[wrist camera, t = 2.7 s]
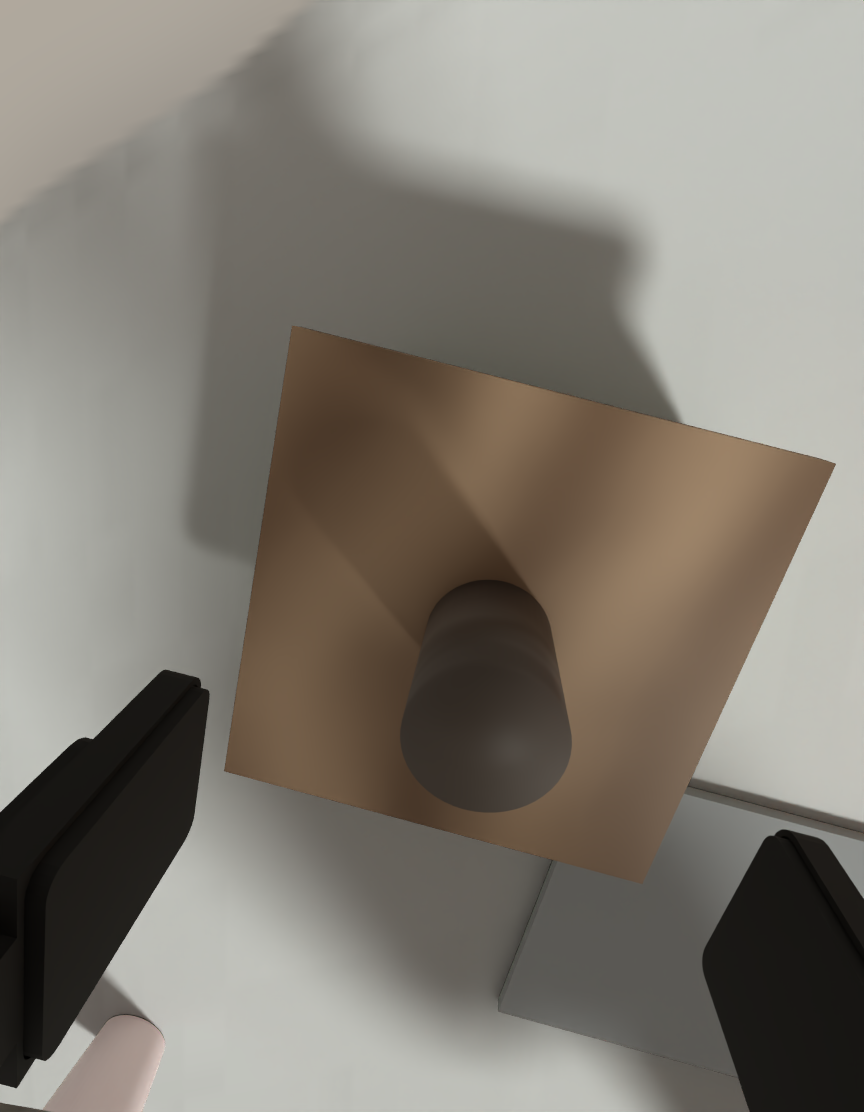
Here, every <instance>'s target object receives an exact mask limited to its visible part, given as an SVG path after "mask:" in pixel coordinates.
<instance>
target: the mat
mask: <svg viewBox="0 0 864 1112" xmlns="http://www.w3.org/2000/svg"><path fill="white" fill-rule="evenodd" d="M781 829H787V830H791V831H794V832H798V833H802V834H806V835H810V836H814V837H818V838H820V839H822V840H824V842H825V843H826V844H827V845H828V846H829V848H830V849H831V851H832V852H833V853H834V855H835V856H836V858H837V859H838V861H839V862H840V864H841V865H842V867H843V868H844V870H845V871H846V873H847V874H848V876H849V877H850V879H851V880H852V882H853V883H854V885H855V886H856V888H857V889H858V891H859V892H860V894H861V895H862V897H863V898H864V833H861V832H857V831H853V830H849V829H846V828H842V827H838V826H834V825H831V824H827V823H823V822H819V821H816V820H812V819H808V818H804V817H801V816H797V815H793V814H789V813H786V812H782V811H778V810H774V809H771V808H767V807H763V806H759V805H756V804H752V803H748V802H744V801H741V800H737V799H733V798H729V797H726V796H722V795H718V794H714V793H711V792H707V791H703V790H699V789H696V788H692V787H688V786H687V788H686V790H685V792H684V795H683V797H682V799H681V801H680V803H679V805H678V808H677V810H676V812H675V814H674V816H673V818H672V821H671V823H670V825H669V827H668V829H667V831H666V834H665V836H664V838H663V840H662V842H661V845H660V847H659V849H658V851H657V853H656V855H655V858H654V860H653V862H652V864H651V866H650V868H649V871H648V873H647V875H646V877H645V879H644V881H643V884H640V883H636V882H632V881H629V880H625V879H621V878H618V877H614V876H610V875H606V874H603V873H599V872H595V871H592V870H588V869H584V868H581V867H577V866H573V865H570V864H566V863H562V862H558V861H555V860H553V861H552V863H551V866H550V869H549V871H548V874H547V876H546V879H545V881H544V884H543V886H542V889H541V892H540V894H539V897H538V899H537V902H536V904H535V907H534V909H533V912H532V915H531V917H530V920H529V922H528V925H527V927H526V930H525V932H524V935H523V938H522V940H521V943H520V945H519V948H518V950H517V953H516V955H515V958H514V961H513V963H512V966H511V968H510V971H509V973H508V976H507V979H506V981H505V984H504V986H503V989H502V991H501V994H500V996H499V999H498V1012H502V1013H505V1014H509V1015H513V1016H516V1017H520V1018H524V1019H527V1020H531V1021H534V1022H538V1023H542V1024H545V1025H549V1026H552V1027H556V1028H560V1029H563V1030H567V1031H571V1032H574V1033H578V1034H581V1035H585V1036H589V1037H592V1038H596V1039H600V1040H603V1041H607V1042H610V1043H614V1044H618V1045H621V1046H625V1047H628V1048H632V1049H636V1050H639V1051H643V1052H647V1053H650V1054H654V1055H657V1056H661V1057H665V1058H668V1059H672V1060H676V1061H679V1062H683V1063H686V1064H690V1065H694V1066H697V1067H701V1068H705V1069H708V1070H712V1071H715V1072H719V1073H723V1074H726V1075H730V1076H733V1077H737V1078H738V1075H737V1072H736V1069H735V1066H734V1063H733V1060H732V1057H731V1054H730V1051H729V1048H728V1045H727V1042H726V1040H725V1037H724V1034H723V1031H722V1028H721V1025H720V1022H719V1019H718V1016H717V1013H716V1010H715V1007H714V1004H713V1001H712V998H711V995H710V992H709V989H708V986H707V983H706V980H705V977H704V973H703V968H702V956H703V951H704V948H705V946H706V944H707V942H708V941H709V939H710V937H711V935H712V933H713V932H714V930H715V928H716V926H717V924H718V922H719V921H720V919H721V917H722V915H723V913H724V911H725V910H726V908H727V906H728V904H729V902H730V901H731V899H732V897H733V895H734V893H735V891H736V890H737V888H738V886H739V884H740V882H741V880H742V879H743V877H744V875H745V873H746V871H747V870H748V868H749V866H750V864H751V862H752V860H753V859H754V857H755V855H756V853H757V851H758V849H759V848H760V846H761V844H762V842H763V841H764V839H765V838H766V837H768V836H774V835H775V834H776V832H778V831H779V830H781Z"/></svg>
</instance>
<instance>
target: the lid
mask: <svg viewBox="0 0 864 1112" xmlns="http://www.w3.org/2000/svg"><path fill="white" fill-rule="evenodd" d="M835 465H836V464H835V463H832V462H829V461H826V460H823V459H819V458H815V457H812V456H808V455H804V454H800V453H796V452H792V451H788V450H784V449H780V448H776V447H772V446H768V445H764V444H760V443H756V442H752V441H748V440H745V439H741V438H737V437H733V436H729V435H725V434H721V433H717V432H713V431H709V430H705V429H701V428H697V427H693V426H689V425H685V424H682V423H678V422H674V421H670V420H666V419H662V418H658V417H654V416H650V415H646V414H642V413H638V412H634V411H630V410H626V409H622V408H619V407H615V406H611V405H607V404H603V403H599V402H595V401H591V400H587V399H583V398H579V397H575V396H571V395H567V394H563V393H559V392H555V391H552V390H548V389H544V388H540V387H536V386H532V385H528V384H524V383H520V382H516V381H512V380H508V379H504V378H500V377H496V376H492V375H489V374H485V373H481V372H477V371H473V370H469V369H465V368H461V367H457V366H453V365H449V364H445V363H441V362H437V361H433V360H429V359H426V358H422V357H418V356H414V355H410V354H406V353H402V352H398V351H394V350H390V349H386V348H382V347H378V346H374V345H370V344H366V343H362V342H359V341H355V340H351V339H347V338H343V337H339V336H335V335H331V334H327V333H323V332H319V331H315V330H311V329H307V328H303V327H298V326H292V330H291V336H290V343H289V349H288V356H287V362H286V369H285V376H284V382H283V389H282V395H281V402H280V408H279V415H278V421H277V428H276V435H275V441H274V448H273V454H272V461H271V467H270V474H269V480H268V487H267V494H266V500H265V507H264V513H263V520H262V526H261V533H260V540H259V546H258V553H257V559H256V566H255V572H254V579H253V585H252V592H251V599H250V605H249V612H248V618H247V625H246V631H245V638H244V644H243V651H242V658H241V664H240V671H239V677H238V684H237V690H236V697H235V703H234V710H233V717H232V723H231V730H230V736H229V743H228V749H227V756H226V763H225V769H224V771H226V772H229V773H233V774H237V775H240V776H244V777H248V778H251V779H255V780H259V781H263V782H266V783H270V784H274V785H277V786H281V787H285V788H288V789H292V790H296V791H300V792H303V793H307V794H311V795H314V796H318V797H322V798H325V799H329V800H333V801H336V802H340V803H344V804H348V805H351V806H355V807H359V808H362V809H366V810H370V811H373V812H377V813H381V814H385V815H388V816H392V817H396V818H399V819H403V820H407V821H410V822H414V823H418V824H422V825H425V826H429V827H433V828H436V829H440V830H444V831H447V832H451V833H455V834H459V835H462V836H466V837H470V838H473V839H477V840H481V841H484V842H488V843H492V844H496V845H499V846H503V847H507V848H510V849H514V850H518V851H521V852H525V853H529V854H533V855H536V856H540V857H544V858H547V859H551V860H555V861H558V862H562V863H566V864H570V865H573V866H577V867H581V868H584V869H588V870H592V871H595V872H599V873H603V874H606V875H610V876H614V877H618V878H621V879H625V880H629V881H632V882H636V883H640V884H643V881H644V879H645V877H646V875H647V873H648V871H649V868H650V866H651V864H652V862H653V860H654V858H655V855H656V853H657V851H658V849H659V847H660V845H661V842H662V840H663V838H664V836H665V834H666V831H667V829H668V827H669V825H670V823H671V821H672V818H673V816H674V814H675V812H676V810H677V808H678V805H679V803H680V801H681V799H682V797H683V795H684V792H685V790H686V788H687V786H688V784H689V782H690V779H691V777H692V775H693V773H694V771H695V769H696V766H697V764H698V762H699V760H700V758H701V756H702V753H703V751H704V749H705V747H706V745H707V743H708V740H709V738H710V736H711V734H712V732H713V730H714V727H715V725H716V723H717V721H718V719H719V717H720V714H721V712H722V710H723V708H724V706H725V704H726V701H727V699H728V697H729V695H730V693H731V691H732V688H733V686H734V684H735V682H736V680H737V678H738V675H739V673H740V671H741V669H742V667H743V665H744V662H745V660H746V658H747V656H748V654H749V651H750V649H751V647H752V645H753V643H754V641H755V638H756V636H757V634H758V632H759V630H760V628H761V625H762V623H763V621H764V619H765V617H766V615H767V612H768V610H769V608H770V606H771V604H772V602H773V599H774V597H775V595H776V593H777V591H778V589H779V586H780V584H781V582H782V580H783V578H784V576H785V573H786V571H787V569H788V567H789V565H790V563H791V560H792V558H793V556H794V554H795V552H796V550H797V547H798V545H799V543H800V541H801V539H802V537H803V534H804V532H805V530H806V528H807V526H808V524H809V521H810V519H811V517H812V515H813V513H814V511H815V508H816V506H817V504H818V502H819V500H820V498H821V495H822V493H823V491H824V489H825V487H826V484H827V482H828V480H829V478H830V476H831V474H832V471H833V469H834V467H835Z"/></svg>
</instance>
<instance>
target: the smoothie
mask: <svg viewBox="0 0 864 1112" xmlns="http://www.w3.org/2000/svg"><path fill="white" fill-rule="evenodd" d="M164 1050H165V1040H164V1038H163V1036H162V1034H161V1032H160V1031H159V1030H158V1029H157V1028H156V1027H155V1026H154V1025H152V1024H151V1023H150V1022H148V1021H146V1020H144V1019H142V1018H139V1017H136V1016H131V1015H119V1016H115V1017H113V1018H111V1019H109V1020H108V1021H107V1022H106V1023H105V1025H104V1026H103V1027H102V1029H101V1030H100V1032H99V1033H98V1034H97V1036H96V1037H95V1038H94V1040H93V1041H92V1043H91V1044H90V1045H89V1047H88V1048H87V1049H86V1051H85V1052H84V1053H83V1055H82V1056H81V1058H80V1059H79V1060H78V1062H77V1063H76V1064H75V1066H74V1067H73V1069H72V1070H71V1071H70V1073H69V1074H68V1075H67V1077H66V1078H65V1079H64V1081H63V1082H62V1084H61V1085H60V1086H59V1088H58V1089H57V1090H56V1092H55V1093H54V1095H53V1096H52V1097H51V1099H50V1100H49V1101H48V1103H47V1104H46V1105H45V1107H44V1108H43V1110H45V1111H51V1112H142V1111H143V1108H144V1105H145V1103H146V1100H147V1097H148V1094H149V1091H150V1089H151V1086H152V1083H153V1080H154V1078H155V1075H156V1072H157V1069H158V1066H159V1064H160V1061H161V1058H162V1055H163V1053H164Z"/></svg>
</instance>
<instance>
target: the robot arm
mask: <svg viewBox="0 0 864 1112" xmlns="http://www.w3.org/2000/svg"><path fill="white" fill-rule="evenodd" d="M209 695H210V694H209V691H208V690H207V689H203V688H201V682H200V679H199V678H197V677H193V676H189V675H185V674H181V673H177V672H174V671H170V670H163V671H162V672H160V673H159V674H158V675H157V676H156V677H155V678H154V679H153V680H152V681H151V682H150V683H149V684H148V685H147V686H146V687H145V688H144V689H143V690H142V691H141V692H140V693H139V694H138V695H137V696H136V697H135V698H134V699H133V700H132V701H131V702H130V703H129V704H128V705H127V706H126V707H125V708H124V709H123V710H122V711H121V712H120V713H119V714H118V715H117V716H116V717H115V718H114V719H113V720H112V721H111V722H110V723H109V724H108V725H107V726H106V727H105V728H104V729H103V730H102V731H101V732H100V733H99V734H98V735H97V736H96V737H95V738H94V739H89V738H86V737H84V738H81V739H78V740H77V741H75V742H74V743H73V744H71V745H70V746H69V747H68V748H67V749H66V750H65V751H64V752H63V753H62V754H61V755H60V756H59V757H57V758H56V759H55V760H54V761H53V762H52V763H51V764H50V765H49V766H48V767H47V768H46V769H45V770H44V771H43V772H42V773H41V774H40V775H39V776H38V777H37V778H36V779H35V780H33V781H32V782H31V783H30V784H29V785H28V786H27V787H26V788H25V789H24V790H23V791H22V792H21V793H20V794H19V795H18V796H17V797H16V798H15V799H14V800H13V801H12V802H11V803H9V804H8V805H7V806H6V807H5V808H4V809H3V810H2V811H1V812H0V1084H3V1085H6V1086H10V1087H14V1088H17V1087H18V1086H19V1084H20V1082H21V1081H22V1079H23V1078H24V1076H25V1075H26V1073H27V1071H28V1070H29V1068H30V1067H31V1065H32V1063H33V1062H34V1060H35V1059H40V1060H44V1061H46V1060H47V1059H49V1058H50V1057H51V1056H52V1054H53V1053H54V1052H55V1050H56V1049H57V1047H58V1046H59V1044H60V1043H61V1041H62V1040H63V1038H64V1036H65V1035H66V1033H67V1031H68V1030H69V1028H70V1027H71V1025H72V1023H73V1022H74V1020H75V1018H76V1017H77V1015H78V1014H79V1012H80V1010H81V1009H82V1007H83V1005H84V1004H85V1002H86V1001H87V999H88V997H89V996H90V994H91V992H92V991H93V989H94V988H95V986H96V984H97V983H98V981H99V979H100V978H101V976H102V974H103V973H104V971H105V970H106V968H107V966H108V965H109V963H110V961H111V960H112V958H113V957H114V955H115V953H116V952H117V950H118V948H119V947H120V945H121V944H122V942H123V940H124V939H125V937H126V935H127V934H128V932H129V931H130V929H131V927H132V926H133V924H134V922H135V921H136V919H137V918H138V916H139V914H140V913H141V911H142V909H143V908H144V906H145V904H146V903H147V901H148V900H149V898H150V896H151V895H152V893H153V891H154V890H155V888H156V887H157V885H158V883H159V882H160V880H161V878H162V877H163V875H164V874H165V872H166V870H167V869H168V867H169V865H170V864H171V862H172V861H173V859H174V857H175V856H176V854H177V852H178V851H179V849H180V848H181V846H182V844H183V843H184V841H185V839H186V837H187V835H188V833H189V831H190V828H191V826H192V822H193V819H194V813H195V806H196V798H197V790H198V782H199V775H200V767H201V759H202V751H203V744H204V736H205V728H206V720H207V713H208V705H209ZM702 968H703V973H704V977H705V980H706V983H707V986H708V989H709V992H710V995H711V998H712V1001H713V1004H714V1007H715V1010H716V1013H717V1016H718V1019H719V1022H720V1025H721V1028H722V1031H723V1034H724V1037H725V1040H726V1042H727V1045H728V1048H729V1051H730V1054H731V1057H732V1060H733V1063H734V1066H735V1069H736V1072H737V1075H738V1078H739V1081H740V1084H741V1087H742V1090H743V1093H744V1096H745V1099H746V1102H747V1105H748V1108H749V1111H750V1112H864V898H863V897H862V895H861V894H860V892H859V891H858V889H857V888H856V886H855V885H854V883H853V882H852V880H851V879H850V877H849V876H848V874H847V873H846V871H845V870H844V868H843V867H842V865H841V864H840V862H839V861H838V859H837V858H836V856H835V855H834V853H833V852H832V851H831V849H830V848H829V846H828V845H827V844H826V843H825V842H824V840H822V839H820V838H818V837H814V836H810V835H806V834H802V833H798V832H794V831H791V830H787V829H781V830H779V831H778V832H776V834H775V835H774V836H768V837H766V838H765V839H764V841H763V842H762V844H761V846H760V848H759V849H758V851H757V853H756V855H755V857H754V859H753V860H752V862H751V864H750V866H749V868H748V870H747V871H746V873H745V875H744V877H743V879H742V880H741V882H740V884H739V886H738V888H737V890H736V891H735V893H734V895H733V897H732V899H731V901H730V902H729V904H728V906H727V908H726V910H725V911H724V913H723V915H722V917H721V919H720V921H719V922H718V924H717V926H716V928H715V930H714V932H713V933H712V935H711V937H710V939H709V941H708V942H707V944H706V946H705V948H704V951H703V956H702ZM0 1112H51V1111H45V1110H39V1109H33V1108H27V1107H22V1106H16V1105H10V1104H4V1103H0Z"/></svg>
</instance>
